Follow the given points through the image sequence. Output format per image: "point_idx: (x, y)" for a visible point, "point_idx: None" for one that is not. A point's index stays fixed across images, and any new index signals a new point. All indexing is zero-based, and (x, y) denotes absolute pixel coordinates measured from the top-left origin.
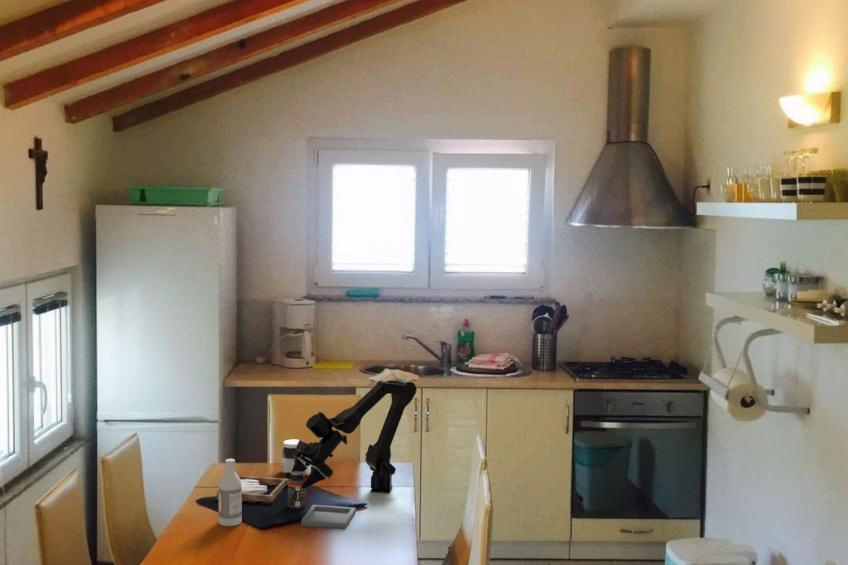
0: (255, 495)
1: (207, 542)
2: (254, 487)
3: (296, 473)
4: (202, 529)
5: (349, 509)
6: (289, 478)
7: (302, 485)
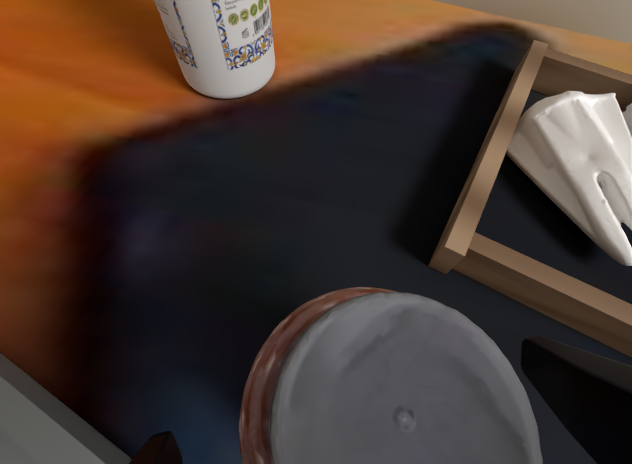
0: (478, 166)
1: (93, 3)
2: (597, 170)
3: (364, 394)
4: None
5: None
6: (530, 344)
7: (147, 448)
